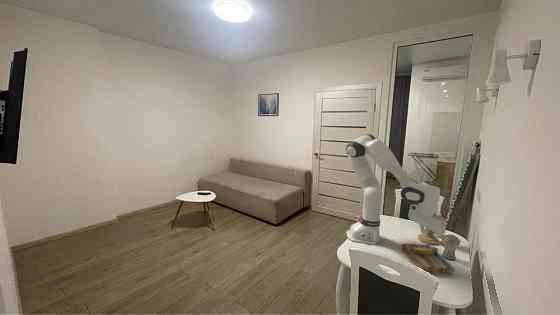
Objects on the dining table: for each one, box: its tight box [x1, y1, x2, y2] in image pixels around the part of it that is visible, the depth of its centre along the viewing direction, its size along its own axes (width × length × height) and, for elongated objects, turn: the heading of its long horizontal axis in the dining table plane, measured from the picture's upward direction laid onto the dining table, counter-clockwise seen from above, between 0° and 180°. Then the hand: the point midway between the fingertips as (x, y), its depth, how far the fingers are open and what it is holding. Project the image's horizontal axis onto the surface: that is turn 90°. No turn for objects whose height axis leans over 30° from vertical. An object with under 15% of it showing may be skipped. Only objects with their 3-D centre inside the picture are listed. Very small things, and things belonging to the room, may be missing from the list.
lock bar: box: [412, 246, 439, 255], centre depth 124 cm, size 13×3×3 cm, turn 84°
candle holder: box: [417, 211, 442, 246], centre depth 144 cm, size 12×12×20 cm
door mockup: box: [401, 243, 455, 276], centre depth 123 cm, size 16×22×6 cm
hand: (423, 233), depth 121 cm, fingers closed
